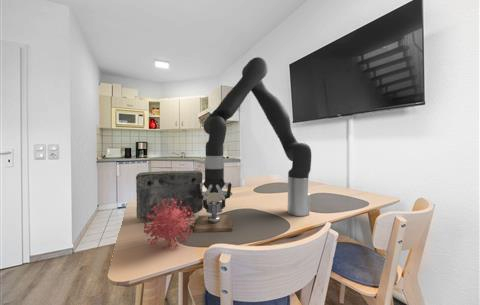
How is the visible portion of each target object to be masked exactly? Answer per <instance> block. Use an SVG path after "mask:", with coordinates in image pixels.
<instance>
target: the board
mask: <svg viewBox="0 0 480 305" xmlns="http://www.w3.org/2000/svg"><path fill="white" fill-rule="evenodd" d="M210 215H211V214H208V215H198V216H197V219H196V221H195V224H194V227H193V228H194V229H193V233H203V232H204V233H206V232H210V233H211V232H233V224H232V217H231V214H218V215H219V216H220V222H219V223H214V224H212V223H209V222H208V216H210Z"/></svg>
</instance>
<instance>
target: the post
mask: <svg viewBox="0 0 480 305" xmlns="http://www.w3.org/2000/svg"><path fill="white" fill-rule="evenodd" d="M211 201H212V204H213V205H215V204H217V201H218V200H216V199H213V200H212V199H211ZM209 215H210V216H208V222H209V223H212V224H214V223H219V222H220V216H219V215H220V214H218V213H216V214H211V213H210V214H209Z"/></svg>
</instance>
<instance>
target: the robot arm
mask: <svg viewBox="0 0 480 305" xmlns="http://www.w3.org/2000/svg"><path fill="white" fill-rule="evenodd" d="M268 70H269V67H268V63H267V62H266V60H265V59H264V58H262V57H261V56H260V57H258V56H256V57H254V58H252V59H250V60H249V61H248V62H247V64H245V66H244V67H243V68H242V72H241V75H242V76H241V78H240V79H239V81H238V82H237V83H236V84H235V85H234V86H233V87H232V88H231V89H230V91H229V92H228V93H227V94H226V96H224V98H223V99H222V101H220V103H219V105H218V106H217V107H216V109H214V110H213V111H212V113H211V114H210V115H209V116H208V117H207V118H206V119H205V121H204V123H203V130H204V132H205V133H206V134H207V135H208V141H207V142H206V143H205V157H204V159H205V160H204V181H203V182H202V183H198V184H197V191H198V198H199V199H202V200H203V209H204V210H206V209H207V202H208V199H207V198H208V196H209V194H212V193H217V194H219V195H220V197H221V202H222V210H224V209H225V208H226V199H227V200H228V199H230V197H231V193H232V192H231V191H232V183H231V182H226V181H225V179H224V178H225V161H224V159H225V158H224V144H225V140H226V134H227V123H226V122H227V120H229V119H230V118H233V116H234V115H235V113H236V112H237V111H238V109H239V108H240V107H241V105H242V104H243V102H244V100H245V99H246V97H247V96H248V95H249V93H250V92H251V93H252V94H253V96H254V97H255V98H256V100H257V102H258V104H259V106H260V107H261V109H262V111H263V113H264V115H265V117H266V119H267V121H268V123H269V124H270V126H271V127H272V130H273V131H274V133H275V134H276V137H277V138H278V139H279V142H280V143H281V144H280V145H281V147H282V148H283V151H284V153H285V155H286V158H287V160H289V161H291V162H292V164H291V169H289V170H288V173H287V213H288V214H289V215H292V216H295V217H305V216H309V215H310V207H311V194H310V193H309V177H310V176H309V174H310V173H311V169H312V168H311V166H312V149H311V147H310V146H309V144H307V143H305V142H304V143H303V142H298V141H297V139H296V137H295V135H294V133H293V132H292V126H291V119H290V115H289V113H288V111H287V109H286V107H285V106H284V104H283V102H282V101H281V100H280V99H279V98H278V97H277V96H275V95H274V94H272V93H271V92H270V91H269V90H268V89H267V87H266V85H265V84H264V82H263V81H264V80H263V79H264V78H265V77H266V76H267V74H268ZM203 186H204V188H205V189H206V191H205V193H204V195H203V191H202V192H201V188H202V189H203ZM224 187H226V189H227V191H226V194H224V191H223V188H224Z"/></svg>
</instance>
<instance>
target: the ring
mask: <svg viewBox="0 0 480 305" xmlns="http://www.w3.org/2000/svg"><path fill="white" fill-rule="evenodd" d="M205 210H206V213H208V214H210V215H211V214H216V213H217V214H220V213H222V212H223V209H222V201H219V200H217V204H215V205H213V204H212V200H210V201H207V209H205Z"/></svg>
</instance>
